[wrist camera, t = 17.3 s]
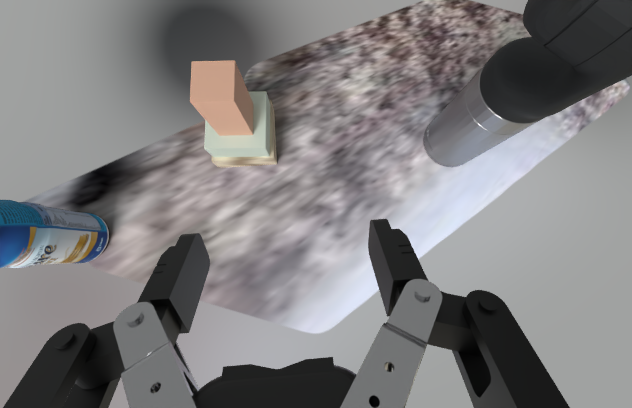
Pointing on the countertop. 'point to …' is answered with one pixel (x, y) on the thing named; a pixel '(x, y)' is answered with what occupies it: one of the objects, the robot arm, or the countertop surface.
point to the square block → (222, 97)
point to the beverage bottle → (48, 235)
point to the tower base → (252, 161)
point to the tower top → (244, 143)
